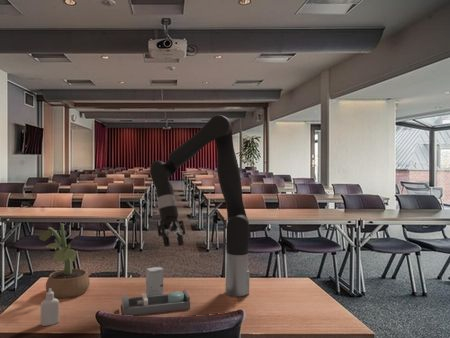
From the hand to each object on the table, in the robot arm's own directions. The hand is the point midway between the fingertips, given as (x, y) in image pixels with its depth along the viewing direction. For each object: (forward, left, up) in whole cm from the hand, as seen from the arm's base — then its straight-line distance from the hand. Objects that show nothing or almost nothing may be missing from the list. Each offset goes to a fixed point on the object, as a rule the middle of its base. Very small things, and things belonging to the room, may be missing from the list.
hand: (174, 245), depth 156 cm
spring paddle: (+14, +11, -20) cm, 26 cm away
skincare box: (+8, 0, -21) cm, 23 cm away
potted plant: (+42, -14, -21) cm, 49 cm away
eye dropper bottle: (+45, +13, -21) cm, 51 cm away
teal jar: (+1, +11, -20) cm, 23 cm away
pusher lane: (+9, +11, -21) cm, 25 cm away
